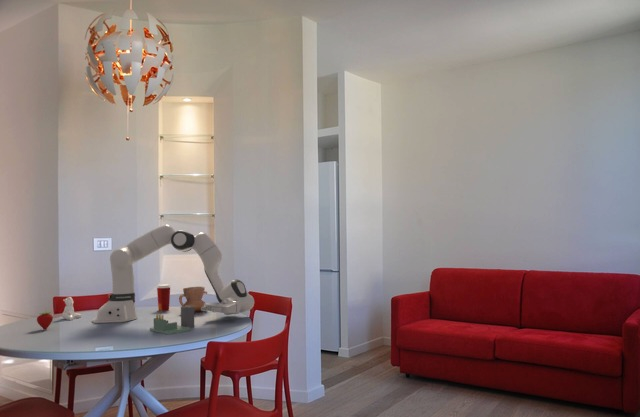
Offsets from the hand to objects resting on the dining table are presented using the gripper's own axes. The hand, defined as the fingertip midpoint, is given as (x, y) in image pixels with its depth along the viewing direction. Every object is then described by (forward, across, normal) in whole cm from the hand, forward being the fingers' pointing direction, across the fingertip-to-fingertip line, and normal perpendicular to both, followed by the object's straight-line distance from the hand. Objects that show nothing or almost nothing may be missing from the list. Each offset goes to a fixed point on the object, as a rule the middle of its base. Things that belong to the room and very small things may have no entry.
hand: (207, 309), depth 271 cm
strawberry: (+59, -53, +6) cm, 79 cm away
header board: (+22, 0, +7) cm, 23 cm away
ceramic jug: (-18, -37, +7) cm, 42 cm away
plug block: (+12, 0, +7) cm, 14 cm away
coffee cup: (-11, -57, +7) cm, 59 cm away
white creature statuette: (+37, -74, +6) cm, 83 cm away
